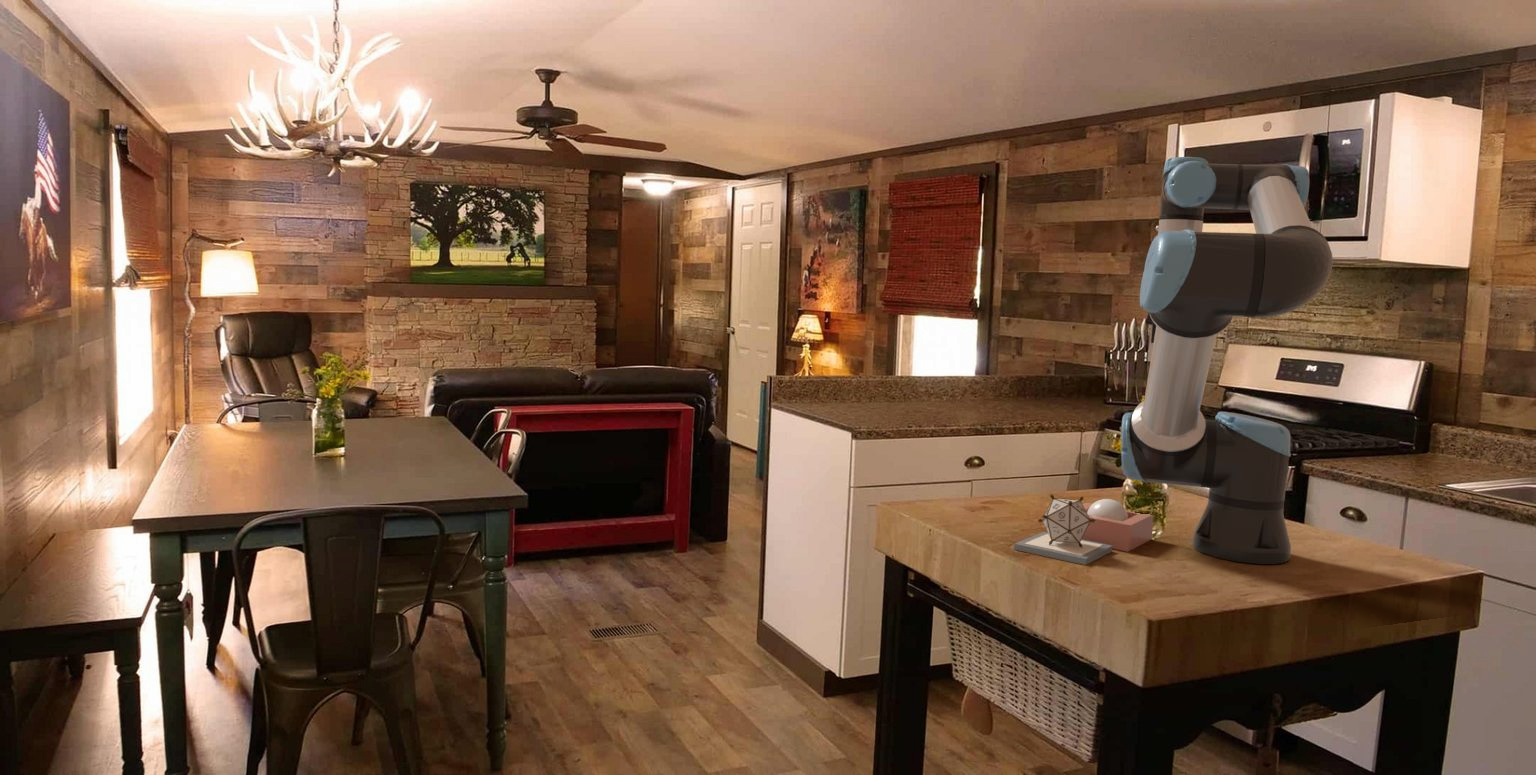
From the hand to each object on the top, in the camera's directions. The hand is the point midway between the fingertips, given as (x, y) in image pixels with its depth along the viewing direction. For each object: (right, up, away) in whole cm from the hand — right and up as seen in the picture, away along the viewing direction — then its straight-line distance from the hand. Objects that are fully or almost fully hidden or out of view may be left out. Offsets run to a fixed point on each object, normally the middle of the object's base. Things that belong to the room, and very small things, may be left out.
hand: (1167, 360), depth 193 cm
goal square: (-25, -32, -20) cm, 45 cm away
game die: (-25, -31, -20) cm, 45 cm away
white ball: (-15, -32, -10) cm, 37 cm away
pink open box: (-15, -31, -10) cm, 36 cm away
